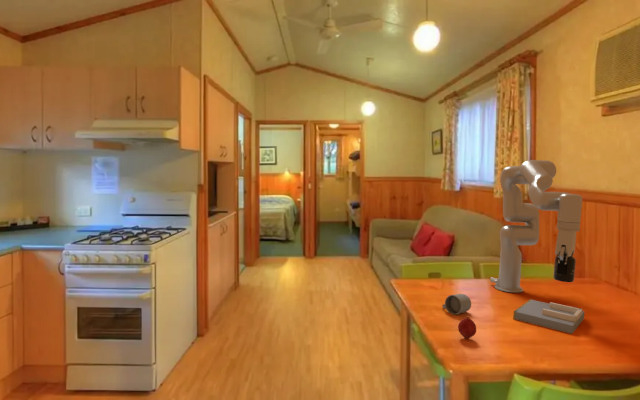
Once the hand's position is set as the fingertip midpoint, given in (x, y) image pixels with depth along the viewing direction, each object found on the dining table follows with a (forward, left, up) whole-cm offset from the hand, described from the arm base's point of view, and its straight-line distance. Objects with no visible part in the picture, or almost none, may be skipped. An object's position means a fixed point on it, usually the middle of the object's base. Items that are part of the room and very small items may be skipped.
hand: (564, 272), depth 159 cm
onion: (-19, -44, -20) cm, 52 cm away
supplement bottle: (0, 0, -3) cm, 3 cm away
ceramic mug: (-33, -21, -20) cm, 44 cm away
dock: (-4, 0, -19) cm, 20 cm away
